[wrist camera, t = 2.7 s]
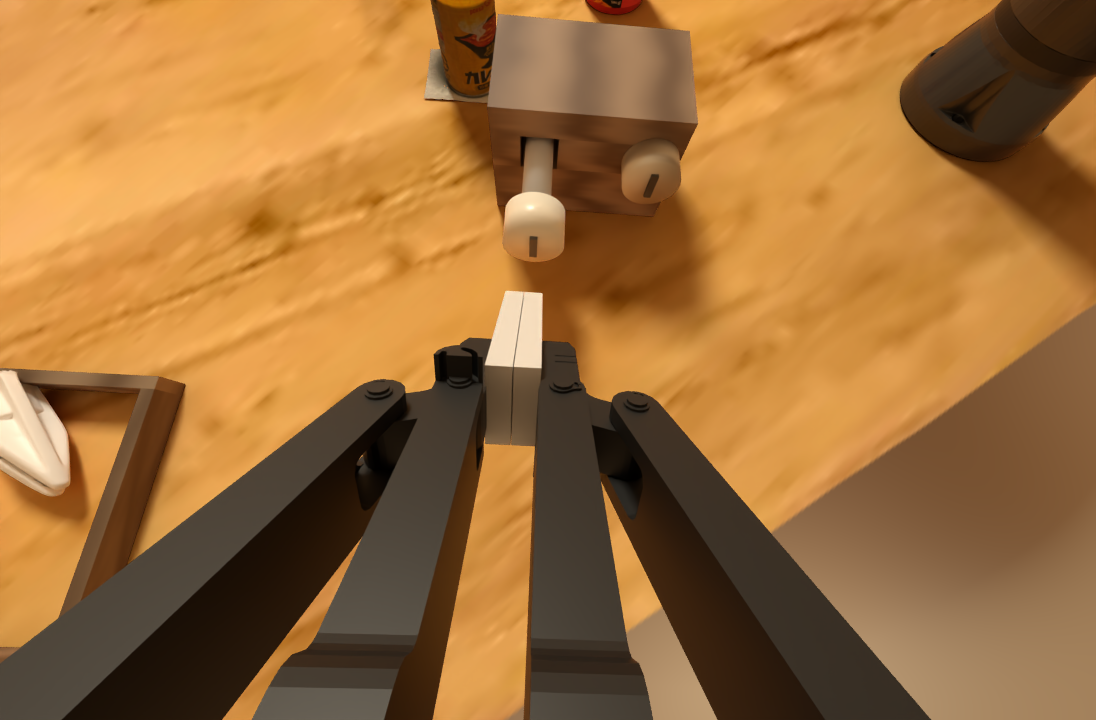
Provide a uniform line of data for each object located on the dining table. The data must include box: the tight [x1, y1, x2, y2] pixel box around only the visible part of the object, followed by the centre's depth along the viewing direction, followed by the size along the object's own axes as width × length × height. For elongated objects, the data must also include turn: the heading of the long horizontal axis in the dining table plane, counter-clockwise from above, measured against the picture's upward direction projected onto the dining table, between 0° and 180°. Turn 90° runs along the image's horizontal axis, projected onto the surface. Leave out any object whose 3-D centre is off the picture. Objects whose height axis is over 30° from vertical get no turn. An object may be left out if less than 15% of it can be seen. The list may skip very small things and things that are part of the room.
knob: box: [503, 137, 565, 262], centre depth 33 cm, size 5×15×5 cm, turn 177°
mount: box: [487, 14, 698, 216], centre depth 36 cm, size 16×13×11 cm
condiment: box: [424, 0, 496, 103], centre depth 39 cm, size 7×8×12 cm
